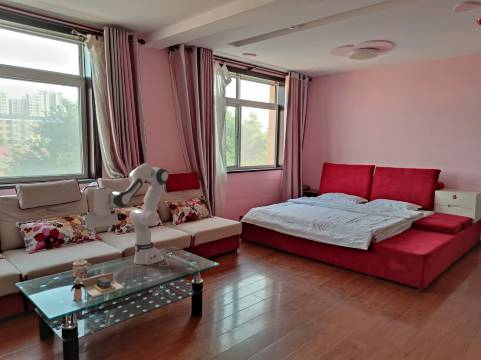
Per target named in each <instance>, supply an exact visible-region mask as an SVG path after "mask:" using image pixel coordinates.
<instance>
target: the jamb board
mask: <svg viewBox="0 0 481 360" xmlns="http://www.w3.org/2000/svg"><path fill="white" fill-rule="evenodd" d="M103 277H104V278H106V279H108V280H111V288H107V289H103V290H102V289H100V288H99V287H98V286H97V279H99V278H103ZM73 283H75V284H76V282H75V280H74V281H73ZM80 283H81V284H83V285H85V288H86V289H84V288H83V287H81V289H82V290H84V291H85V292H86V293H88V294H89V295H88V296H90V297H91V298H96V297H99V296H104V295H106V294H110V293H113V292H117V291H121V290H124V289H125V287H124V286H123V285H122V284H120V283H118V282H117V281H115V280H114V272H109V273H99V274H98V275H93V276H90V277H86V278H83V277H81V282H80Z"/></svg>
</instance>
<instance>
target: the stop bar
mask: <svg viewBox="0 0 481 360" xmlns="http://www.w3.org/2000/svg"><path fill="white" fill-rule="evenodd" d="M97 286H98V287H99V288H100V289H102V290H103V289H107V288H111V280H108V279H106V278H104V277H103V278H99V279H97Z"/></svg>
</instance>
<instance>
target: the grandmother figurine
mask: <svg viewBox="0 0 481 360" xmlns="http://www.w3.org/2000/svg"><path fill="white" fill-rule="evenodd" d="M81 279H82V277H75V279H74V281H75V282H76V283H75V282H74V283H75V284H73V286H71V288H70V293H71V292H73V291H74V293H73V299H72V302H76V301H82V300H83V299H82V298H83V297H82V295H83V291H82V290H84V289H86V288H85V285H83V284H81V283H80V282H81ZM81 287H83V288H84V289H83V288H81Z"/></svg>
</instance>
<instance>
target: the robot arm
mask: <svg viewBox="0 0 481 360" xmlns="http://www.w3.org/2000/svg"><path fill="white" fill-rule="evenodd" d="M168 179H169V171H168V170H167V169H165V168H160V167H158V166H152V165H151V164H149V163H146V162H144V163H142V164H140V165H138V166H137V167H135V168H134V169H132V170H131V172H130V173H129V175H128V181H129V183H130V185H129V186H128V187H127V188H126V190H124V191H118V190H113V189H111V188H109V187H107V186H99V187H96V188H95V190H94V193H93V194H94V195H93V201H94V206H93V209H94V212H89V213H87V214H86V215H85V216H84V218H85V219H84V220H85V221H84V222H85V223H84V225H85V226H84V227H85V228H87V229H91V231H92V235H97V231H96V230H95V228H99V227H107V226H108V228H107V230H106V231H107V233H111V232H112V229H113V225H114V226H115V225H118V222H119V218H118V214H117V210H115V209H113V208H112V209H111V208H110V206H114V207H117V208H118V207H119V208H125V207H127V206H129V203H130V202H131V201H132V198H133V197H134V196H135V195H136V194H137V193H138V192H139V190H140V189H141V188H142V187H143V184H144V183H145V182H146V181H148V182H150V183H151V184H150V186H149V187H148V189H147V191H146V193H145V196H144V197H143V200H142V201H143V203H144V207H143V209H142V208H135V209H132V210H130V212H129V220H130V221H131V223H132V224H133V228H134V232H135V244H134V251H135V253H134V260H133V263H134V264H136V265H153V264H155V263H159V262H162V261H165V257H164V256H162V254H161V251H160V250H159V249H158V248H156V245H157V243H155V242H153V241H152V232H151V230H150V228H149V227H153V226H155V225H156V224H158V219H159V218H158V214H157V210H158V205H159V202H160V200H161V198H162V195H163V193H164V191H165V184H166V183H167V181H168ZM154 246H155V247H154Z"/></svg>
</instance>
